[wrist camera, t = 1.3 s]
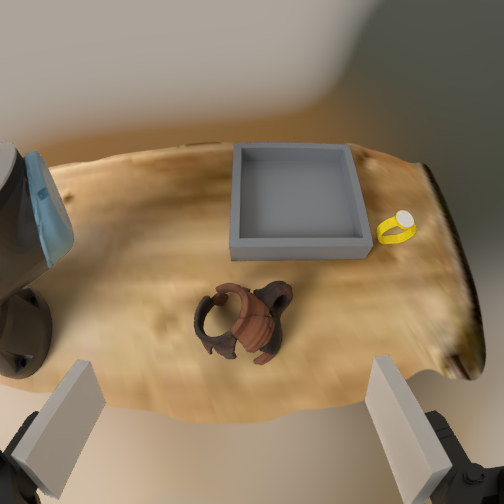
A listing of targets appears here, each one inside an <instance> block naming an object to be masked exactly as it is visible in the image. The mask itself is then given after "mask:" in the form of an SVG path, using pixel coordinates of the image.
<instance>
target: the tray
mask: <svg viewBox="0 0 504 504" xmlns="http://www.w3.org/2000/svg"><path fill="white" fill-rule="evenodd" d="M372 247H373V242H372V237H371V232H370V227H369V222H368V217H367V213H366V209H365V204H364V200H363V196H362V192H361V187H360V183H359V179H358V176H357V172H356V168H355V164H354V161H353V157H352V153H351V150H350V146H349V145H344V144H322V143H286V142H284V143H283V142H270V143H269V142H258V143H257V142H255V143H234V151H233V170H232V191H231V214H230V239H229V249H230V254H231V260H232V261H281V260H351V259H365V258H366V256H367V255H368V253H369V252H370V250H371V249H372Z"/></svg>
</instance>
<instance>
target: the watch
mask: <svg viewBox="0 0 504 504" xmlns="http://www.w3.org/2000/svg"><path fill="white" fill-rule="evenodd" d="M396 226H398V227H400V228H401V229H403V230H406V231H404V232H402V233H399V234H397V235H383V236H382V234H383V233H384V232H386V231H387V230H389V229H390V228H393V227H396ZM416 231H417V227H416V224H415V221H414V219H413V217H412V216H411V214H410V213H408V212H407V211H403V210H401V211H398V212H397V213H396V215H395V217H392V218H389V219H387V220H385V221H384V222H382V223H381V224H380V225H379V226H378V227H377V229H376V234H377V238H378V241H379V242H380V243H382V244H392V243H398V244H399V243H401V242H404V241H406V240H408V239H409V238H411V237H412V236H413V235H414V234H415V233H416Z"/></svg>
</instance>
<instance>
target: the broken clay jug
mask: <svg viewBox="0 0 504 504" xmlns="http://www.w3.org/2000/svg"><path fill="white" fill-rule="evenodd" d="M216 291H217V292H218V293H217V294H215V295H214V296H213V297H212V298H210V297H209V296H204V297H203V299H202V300H201V302H200V303H199V305H198V307H197V309H196V312H195V317H194V320H195V321H194V328H195V333H196V335H197V336H198V337H199V338H200V339H201V341H202V343H203V345H204V347H205V349H206V350H207V351H208V353H209V354H212V348H213V347H214V349H215V351H216V352H217V353H218V354H220V355H223V356H224V357H225V358H226V359H235V358H236V354H235V353H234V351H235V344H236V342H237V340H239V342H240V343H241V344H242V345H243V347H244V348H245V349H246V351H247V352H251V353H252V352H253V353H254V352H256V351H257V350H260V351H263V352H264V353H263V354H262V355H260V356H259V357H257V358H256V359H254V360H253V361H254V363H255V364H259V365H263V364H265V363H267V362H268V361H269V360H271V359H272V358H273V357H274V355H275V354H276V353H277V351H278V350H279V348H280V345H281V342H282V329H281V323H280V317H281V315H282V313H283V311H284V310H285V308H286V307H287V306H288V305H289V304H290V302H291V300H292V298H293V293H292V287H291V286H290V285H289V284H286V283H285V282H284V281H274V282H272V283H270V284H268V285H267V286H266V287H264V288H262V289H256V290H254V291H253V293H254V294H253V293H249V292H250V289H248V288H244V287H241V286H239V285H237V284H233V283H226V284H222V285H219V286H217V287H216ZM227 292H236V293H237V294H239V296H240V297H241V301H242V307H241V313H240V316H239V318H238V320H237V322H236V323H235V324H234V326H233V327H232V328H231V329H230V331H228V332H226V333H225V334H223V335H221V336H217V337H209V336H207V335H206V334H205V332H204V329H203V326H204V321H205V317H206V315H207V313H208V312H209V311H210V310H211V308H212V307H213V306H214V305H216V306H222V305H223V304H224V303H225V302H226V301H227V299H228V295H227V294H225V293H227ZM269 313H270V314H271V316H272V317H269V316H268V315H269Z"/></svg>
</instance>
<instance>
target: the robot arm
mask: <svg viewBox="0 0 504 504" xmlns="http://www.w3.org/2000/svg"><path fill="white" fill-rule="evenodd" d="M73 242H74V233H73V229H72V225H71V222H70V219H69V217H68V214H67V211H66V209H65V206H64V204H63V201H62V199H61V197H60V194H59V192H58V189H57V187H56V185H55V182H54V180H53V178H52V176H51V174H50V171H49V169H48V167H47V165H46V163H45V161H44V160H43V158H42V157H41V156H40V154H39V153H38V152H37V151H33V152H31V153H26V154H25V157H24V158H23V157H22V156H21V155H20V154H19V152H18V150H17V149H16V148H15V146H14V145H13V144H12V143H10V142H0V374H1V375H3V376H5V377H9V378H13V379H23V378H26V377H28V376H30V375H32V374H33V373H34V372H35V371H36V370H37V369H38V368H39V367H40V366H41V364H42V363H43V361H44V359H45V357H46V355H47V352H48V349H49V345H50V341H51V333H52V323H51V315H50V311H49V308H48V305H47V303H46V301H45V300H44V298H43V297H42V295H41V294H40V293H38V292H37V291H36V290H34V289H33V288H31V287H30V286H28V284H29V283H30V282H32V281H33V280H34V279H36V278H37V277H39V276H40V275H41V274H43V273H44V272H45V271H47V270H48V269H51V268H52V267H53V264H54V263H56V262H57V261H58V260H59V259H60V258H62V257H63V256H64V255H65V254H67V253H68V252H69V250H70V249H71V248H72V245H73ZM365 402H366V405H367V407H368V410H369V412H370V415H371V417H372V420H373V422H374V425H375V427H376V430H377V432H378V435H379V437H380V440H381V443H382V445H383V448H384V451H385V453H386V456H387V458H388V461H389V464H390V467H391V469H392V472H393V475H394V477H395V480H396V483H397V486H398V488H399V491H400V494H401V497H402V500H403V503H404V504H424V503H425V502H426V501H427V500H428V498H429V497H430V499H431V501H432V504H504V466H501V467H495V468H483V467H482V466H481V465H479V464H477V463H471V461H470V460H469V458H468V457H467V455H466V453H465V451H464V450H463V448H462V446H461V444H460V443H459V441H458V439H457V438H456V436H455V435H454V433H453V431H452V429H451V428H450V426H449V425H448V423H447V421H446V419H445V418H444V417H443V416H442V415H441V414H439V413H438V412H437V411H431V412H428V413H424V412H423V410H422V409H421V407H420V405H419V404H418V402H417V400H416V398H415V397H414V395H413V393H412V391H411V390H410V388H409V386H408V385H407V383H406V381H405V380H404V378H403V376H402V375H401V373H400V371H399V370H398V368H397V366H396V365H395V363H394V361H393V360H392V358H391V357H390V355H384V356H377V357H374V360H373V365H372V370H371V375H370V380H369V384H368V389H367V393H366V398H365ZM105 404H106V401H105V399H104V396H103V394H102V391H101V389H100V386H99V384H98V381H97V379H96V376H95V373H94V371H93V368H92V365H91V362H90V361H85V360H77V361H76V362H75V364H74V365H73V366H72V368H71V369H70V370H69V372H68V373H67V374H66V376H65V377H64V378H63V380H62V381H61V382H60V384H59V385H58V387H57V388H56V389H55V391H54V392H53V394H52V395H51V396H50V398H49V399H48V401H47V402H46V404H45V405H44V406H43V408H42V409H41V411H40V412H38V411H35V412H33V413H32V414H31V415H29V416H28V417H27V419H26V420H25V421H24V423H23V424H22V427H20V428H19V430H18V432H17V433H16V434H15V436H14V437H13V439H12V440H11V442H10V443H9V445H8V446H7V448H6V449H5V451H4V452H3V453H2V451H1V450H0V504H41V502H40V499H39V496H38V494H37V493H36V490H37V488H39V489H40V490H41V491H42V492H43V493H44V494H45V495H47V496H50V497H52V498H55V499H57V500H59V498H60V496H61V493H62V492H63V489H64V487H65V485H66V483H67V480H68V479H69V476H70V474H71V472H72V470H73V468H74V466H75V464H76V462H77V459H78V457H79V455H80V453H81V451H82V449H83V447H84V445H85V443H86V441H87V439H88V437H89V435H90V433H91V431H92V429H93V427H94V425H95V423H96V421H97V419H98V417H99V415H100V413H101V411H102V409H103V408H104V406H105Z"/></svg>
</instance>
